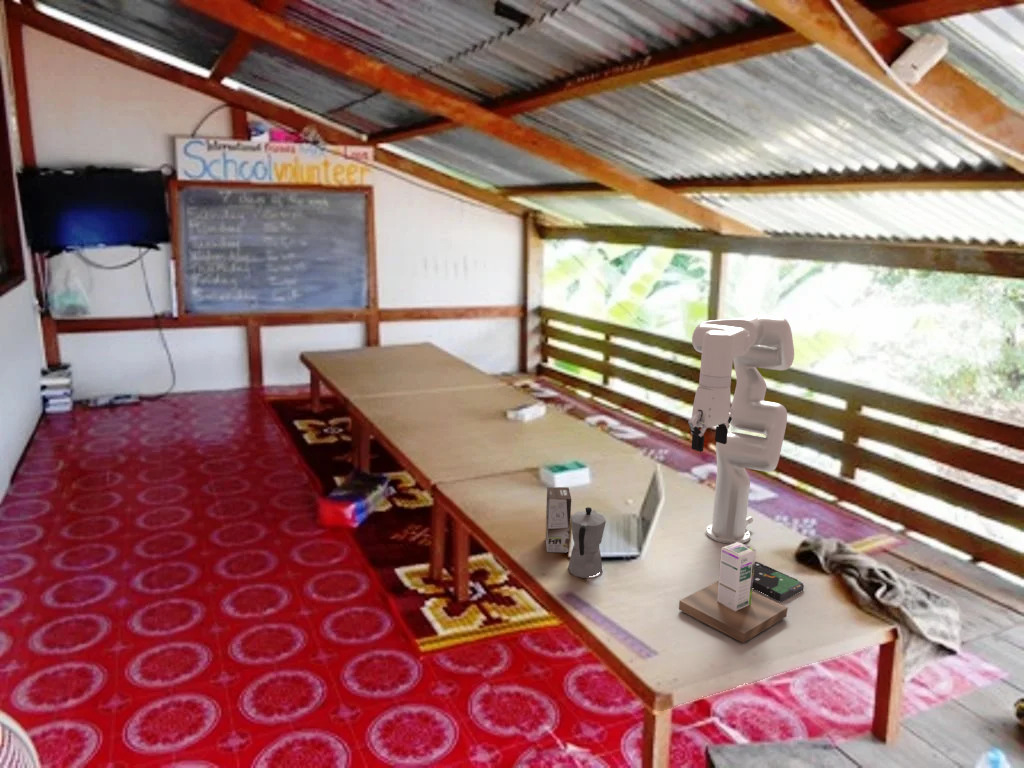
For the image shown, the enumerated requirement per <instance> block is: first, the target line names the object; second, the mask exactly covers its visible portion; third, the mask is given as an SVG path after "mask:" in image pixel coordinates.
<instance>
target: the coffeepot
mask: <svg viewBox="0 0 1024 768" xmlns="http://www.w3.org/2000/svg"><path fill="white" fill-rule="evenodd" d="M584 509H585V511H577V512H574V513H573V514H571V516H570V526H571V531H572V532H571V533H572V540H573V543H574V544H573V546H572V549H571V553H570V558H569V564H568V567H567V568H568V570H569V572H570V573H571V574H572V575H573V576H575V577H576V578H582V579H588V578H587V577H589V576H593V575H596V574H597V573H599V572H600V573H601V574H602V573H603V564H602V555H601V549H600V545H601V544H602V541H603V540H602V539H603V536H604V531H605V526H606V518H605V516H604V515H603V514H600V513H598V512H597V511H596V510H592V509H593V508H592V507H589V506H587V507H585V508H584Z"/></svg>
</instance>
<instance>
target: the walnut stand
mask: <svg viewBox="0 0 1024 768" xmlns="http://www.w3.org/2000/svg"><path fill="white" fill-rule="evenodd" d="M718 585H719V580H717V581H715V582H713V583H711V584H709V585H707V586H706V587H703V588H701V589H700V590H697V591H696V592H694V593H692V594H690V595H688V596H686V597H684V598H682V599H680V600H678V601H679V604H678V610H680V611H681V612H682V613H685V614H686V615H688V616H691V617H693V618H695V619H696V620H699V622H702V623H703V624H706V625H708V626H710V627H711V628H713V629H715V630H717V631H720V632H721V633H723V634H725V635H727V636H728V637H730V638H732V639H733V640H736V641H739V642H740V643H741V644H744V643H746V642H747V641H749V640H750V639H752V638H754V637H755V636H757V635H759V634H760V633H762V632H763V631H766V630H767V629H768V628H770V627H771V626H773V625H776V624H777V623H778V622H780V621H782V620H783V619H785V618H786V617H787V616H788V608H789V607H787V606H785V605H783V604H781V603H778V601H776V600H775V601H774V600H773V599H770V598H769V597H768V598H767V597H765V595H762V594H759V593H757V592H755V591H753V590H752V598H751V605H749V606H746V607H744V608H742V609H739V610H737V611H734V610H732V609H730V608H728V607H726V606H724V605H723V604H721V603H719V602H718V601H717V597H718Z"/></svg>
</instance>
